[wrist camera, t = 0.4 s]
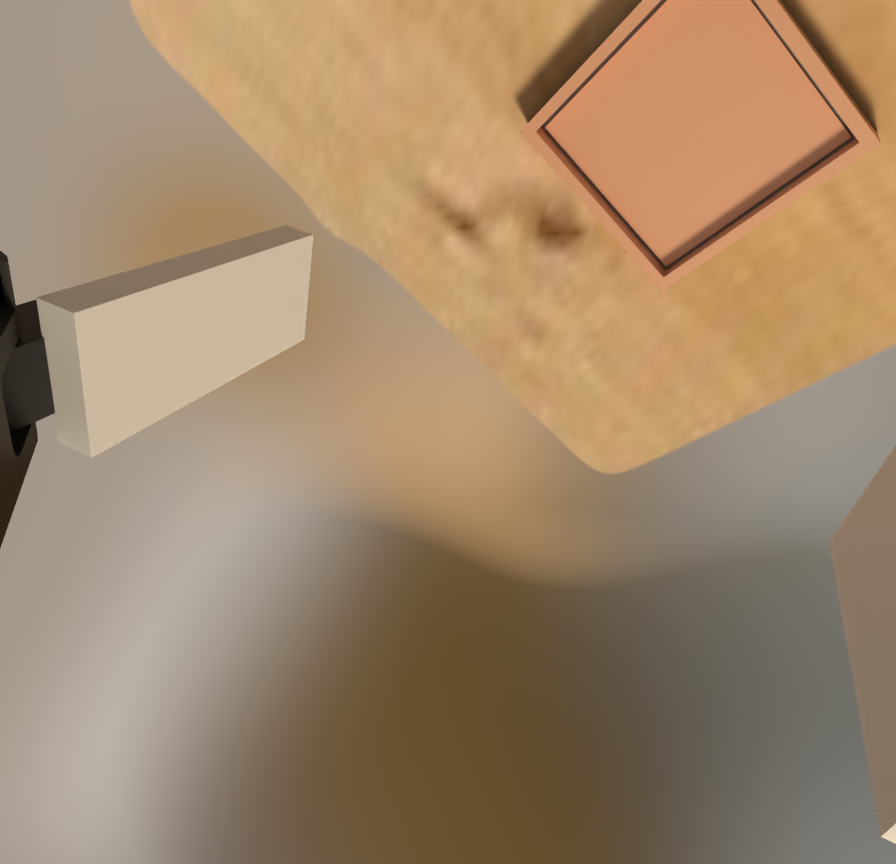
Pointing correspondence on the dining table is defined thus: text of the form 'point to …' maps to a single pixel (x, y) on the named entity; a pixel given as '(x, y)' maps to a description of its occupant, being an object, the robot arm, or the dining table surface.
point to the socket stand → (698, 127)
